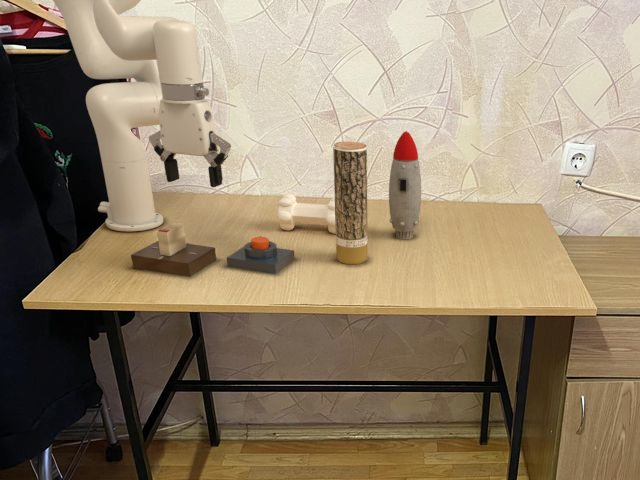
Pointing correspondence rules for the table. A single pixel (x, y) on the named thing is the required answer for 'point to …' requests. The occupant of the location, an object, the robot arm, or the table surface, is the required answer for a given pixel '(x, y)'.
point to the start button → (260, 243)
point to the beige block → (171, 239)
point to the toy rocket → (405, 187)
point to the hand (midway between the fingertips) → (194, 183)
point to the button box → (261, 258)
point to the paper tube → (350, 201)
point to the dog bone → (305, 213)
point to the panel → (174, 259)
